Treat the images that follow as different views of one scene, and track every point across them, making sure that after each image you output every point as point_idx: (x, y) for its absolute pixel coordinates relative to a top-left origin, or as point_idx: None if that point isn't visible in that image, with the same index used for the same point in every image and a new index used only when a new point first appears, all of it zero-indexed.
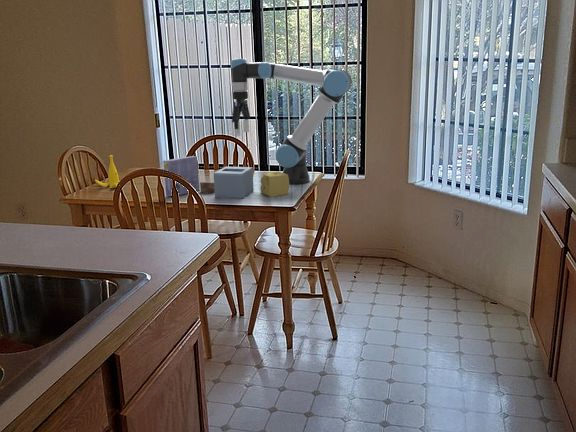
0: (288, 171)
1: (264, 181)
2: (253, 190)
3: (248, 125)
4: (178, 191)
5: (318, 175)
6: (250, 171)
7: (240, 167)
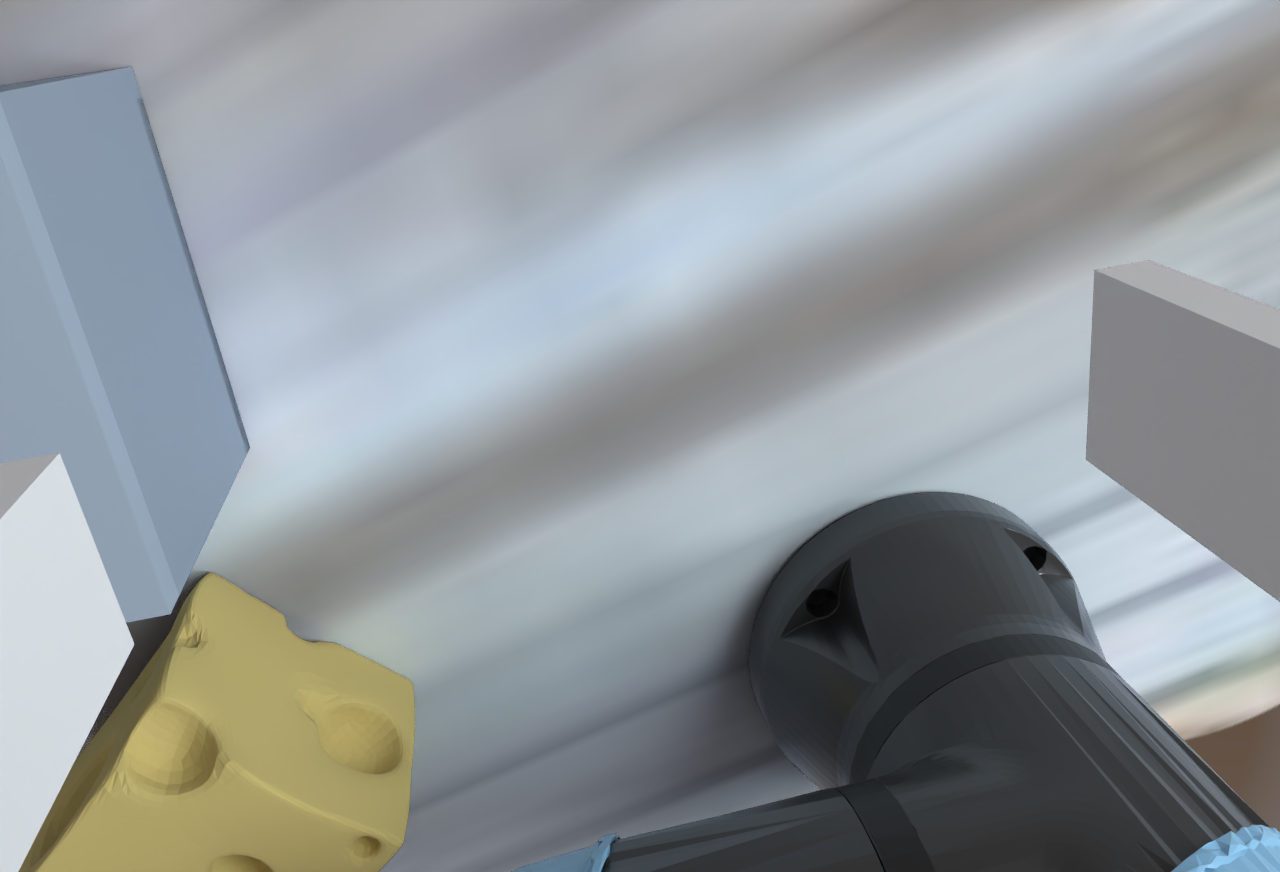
0: (824, 708)
1: (114, 742)
2: (244, 452)
3: (1273, 583)
4: None
5: (1215, 720)
6: None
7: (48, 433)
